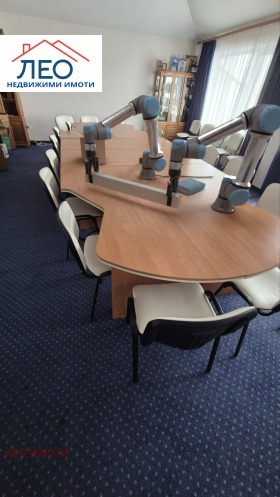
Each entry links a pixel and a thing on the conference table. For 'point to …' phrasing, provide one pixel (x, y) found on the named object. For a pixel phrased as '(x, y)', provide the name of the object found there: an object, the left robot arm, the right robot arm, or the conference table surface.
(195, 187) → the book
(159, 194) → the beam
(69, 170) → the conference table surface
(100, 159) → the box
